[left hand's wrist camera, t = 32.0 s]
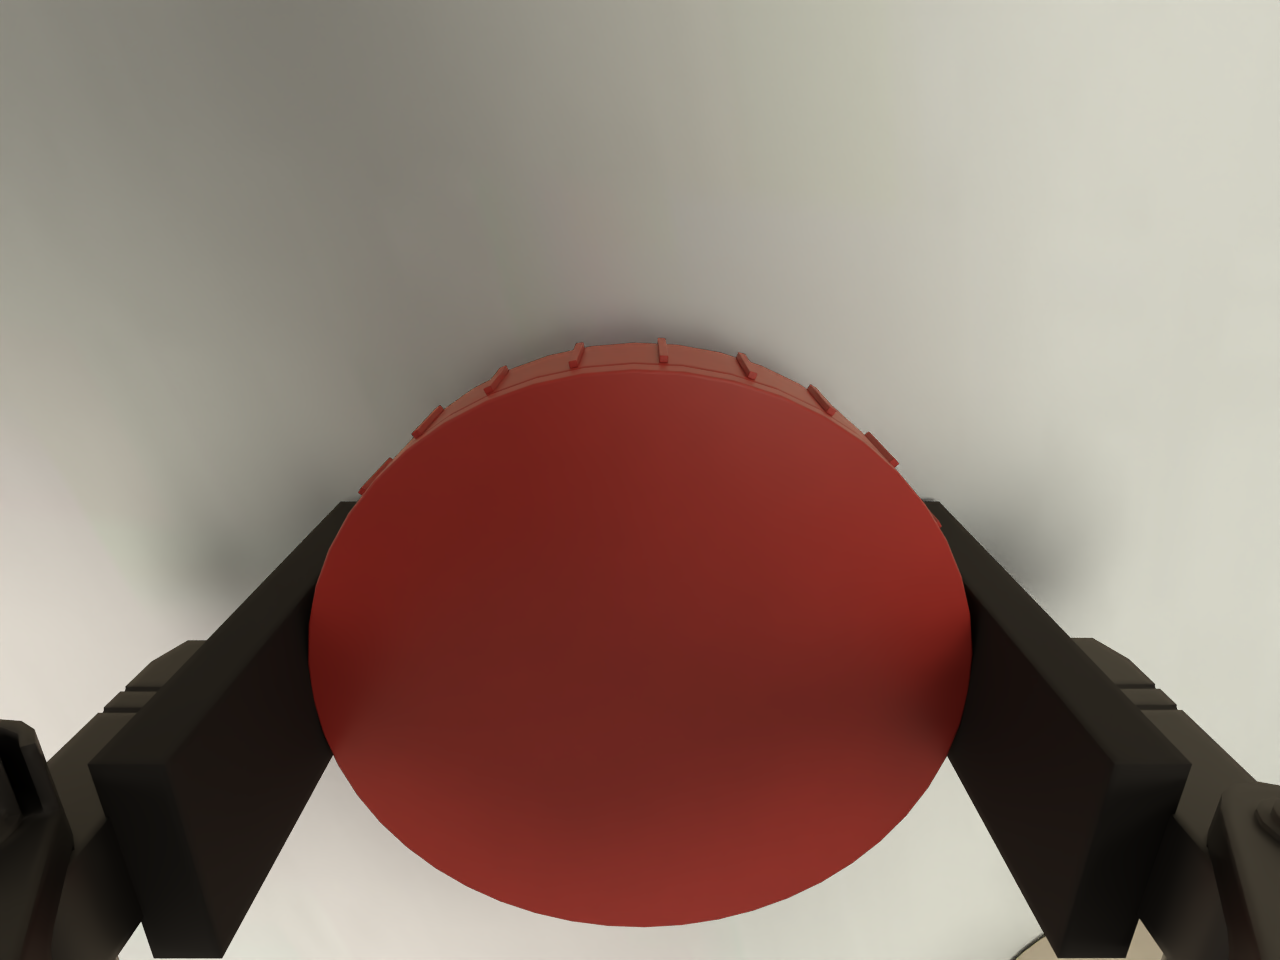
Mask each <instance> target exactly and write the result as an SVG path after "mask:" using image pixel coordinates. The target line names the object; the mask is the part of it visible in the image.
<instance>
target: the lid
mask: <svg viewBox="0 0 1280 960" xmlns="http://www.w3.org/2000/svg"><path fill="white" fill-rule="evenodd" d="M412 436H413V437H414V438H413V439H411V441H410V442H409V443H408V444H407V445H406V446H405V447H404V448H403V449H402V450H401V451H400V452H399V454H398V455H397V456H396V457H395V458H394V459H392V458H389V459H388V460H387V461H386V462H385V463H384V464H383V465H382V466H381V467H380V468H379V469H378V470H377V471H376V472H375V474H374V475H373V476H372V477H371V478H370V479H369V480H368V481H367V482H366V483H365V484H364V485H363V486H362V487H361V489H360V490H359V492H358V493H359V494H361V495H362V496H361V498H360V499H359V500H358V502H357V503H356V504H355V506H354V507H353V508H352V509H351V511H350V512H349V513H348V515H347V517H346V519H345V521H344V522H343V524H342V526H341V528H340V530H339V532H338V533H337V535H336V537H335V539H334V541H333V543H332V544H331V546H330V548H329V550H328V553H327V556H326V559H325V561H324V564H323V567H322V570H321V573H320V575H319V578H318V581H317V584H316V587H315V593H314V598H313V603H312V609H311V614H310V620H309V637H308V666H309V673H310V680H311V686H312V692H313V697H314V702H315V707H316V710H317V714H318V717H319V720H320V724H321V727H322V731H323V733H324V736H325V738H326V740H327V742H328V744H329V746H330V749H331V751H332V753H333V755H334V757H335V760H336V762H337V764H338V766H339V767H340V769H341V770H342V772H343V774H344V775H345V777H346V778H347V780H348V781H349V783H350V784H351V786H352V788H353V789H354V791H355V792H356V794H357V795H358V796H359V798H360V799H361V800H362V801H363V802H364V804H365V805H366V806H367V807H368V808H369V810H370V811H371V812H372V813H373V814H374V816H375V817H376V818H377V819H378V820H379V821H380V823H381V824H383V825H384V826H385V827H386V828H387V829H388V830H389V831H390V832H391V833H392V834H393V835H394V836H395V837H397V838H398V839H399V840H400V841H401V842H402V843H403V844H404V845H405V846H406V847H407V848H409V849H410V850H412V851H413V852H414V853H416V854H417V855H418V856H420V857H421V858H422V859H424V860H425V861H426V862H428V863H429V864H431V865H432V866H433V867H435V868H436V869H438V870H440V871H441V872H443V873H445V874H446V875H448V876H450V877H452V878H453V879H455V880H457V881H459V882H460V883H462V884H464V885H465V886H467V887H469V888H472V889H474V890H476V891H478V892H481V893H483V894H485V895H487V896H490V897H492V898H494V899H496V900H498V901H501V902H504V903H507V904H510V905H513V906H516V907H519V908H522V909H525V910H528V911H531V912H534V913H538V914H542V915H547V916H551V917H555V918H560V919H564V920H569V921H574V922H582V923H590V924H597V925H605V926H627V927H656V926H673V925H685V924H691V923H698V922H704V921H711V920H717V919H722V918H726V917H730V916H734V915H738V914H741V913H745V912H749V911H753V910H756V909H759V908H762V907H765V906H767V905H770V904H773V903H776V902H779V901H781V900H784V899H787V898H789V897H791V896H794V895H796V894H798V893H800V892H802V891H804V890H806V889H808V888H810V887H812V886H814V885H816V884H819V883H821V882H822V881H824V880H826V879H827V878H829V877H831V876H832V875H834V874H835V873H837V872H839V871H840V870H842V869H844V868H845V867H847V866H848V865H850V864H852V863H853V862H854V861H856V860H857V859H858V858H859V857H861V856H862V855H863V854H865V853H866V852H867V851H868V850H870V849H871V848H872V847H874V846H875V845H876V844H877V843H879V842H880V841H881V840H882V839H883V838H884V837H885V836H886V835H887V834H888V833H889V832H890V831H891V830H892V829H893V828H894V827H895V826H896V825H897V824H898V823H899V822H900V821H901V820H902V819H903V818H904V817H905V816H906V815H907V814H908V813H909V811H910V810H911V809H912V808H913V806H914V805H915V804H916V803H917V801H918V800H919V799H920V797H921V796H922V795H923V794H924V792H925V791H926V790H927V789H928V787H929V785H930V784H931V782H932V780H933V779H934V777H935V775H936V774H937V772H938V770H939V769H940V767H941V765H942V764H943V762H944V760H945V758H946V757H947V754H948V752H949V749H950V747H951V745H952V742H953V740H954V737H955V735H956V733H957V730H958V728H959V725H960V723H961V719H962V715H963V711H964V706H965V701H966V697H967V692H968V686H969V681H970V673H971V662H972V637H971V621H970V612H969V607H968V603H967V598H966V594H965V590H964V585H963V581H962V577H961V574H960V572H959V569H958V567H957V564H956V562H955V559H954V557H953V554H952V552H951V549H950V547H949V544H948V542H947V540H946V538H945V536H944V535H943V533H942V531H941V530H940V527H941V524H940V522H939V520H938V519H937V518H936V517H935V516H934V515H933V514H932V513H931V512H930V510H929V509H928V508H927V506H926V505H925V503H924V502H923V501H922V500H921V499H920V497H919V496H918V495H917V494H916V493H915V491H914V490H913V489H912V488H911V487H910V485H909V484H908V483H907V482H906V481H905V480H904V478H903V477H902V476H901V475H900V474H899V472H898V471H897V470H896V469H895V467H896V466H897V465H898V464H899V463H898V462H897V461H896V459H895V458H894V457H893V456H892V455H891V454H890V453H889V452H888V451H887V450H886V449H885V448H884V447H883V446H882V445H881V444H880V443H879V442H878V441H877V439H876V438H875V437H874V436H873V435H872V434H871V433H870V432H867V433H866V434H865V435H864V434H863V433H862V432H861V431H860V430H859V429H858V428H856V427H855V426H854V425H853V424H852V423H851V422H850V421H849V420H847V419H846V418H845V417H844V416H843V415H842V414H841V413H840V412H839V411H837V410H836V409H835V408H834V407H833V406H832V405H831V404H830V403H829V402H828V401H827V400H826V398H825V397H824V396H823V395H822V394H821V393H820V392H819V391H818V389H817V388H816V387H814V386H812V385H810V386H809V387H808V388H807V389H806V388H804V387H803V386H801V385H800V384H798V383H796V382H794V381H792V380H790V379H788V378H786V377H784V376H782V375H780V374H777V373H775V372H773V371H771V370H769V369H767V368H765V367H763V366H761V365H758V364H754V363H751V362H750V361H749V359H748V358H747V356H746V355H745V354H743V353H740V352H738V354H737V357H733V356H730V355H727V354H723V353H720V352H715V351H709V350H704V349H698V348H693V347H687V346H682V345H671V344H666V339H665V338H658V342H657V344H651V343H625V344H613V345H600V346H590V347H584V343H583V342H582V343H576V345H575V347H574V350H572V351H567V352H562V353H558V354H553V355H549V356H546V357H543V358H540V359H538V360H535V361H532V362H529V363H526V364H524V365H521V366H518V367H515V368H513V369H510V370H508V368H507V366H503V367H501V368H499V370H498V371H497V372H496V374H495V375H494V376H493V377H492V379H490V380H489V381H487V382H485V383H483V384H481V385H479V386H477V387H475V388H473V389H472V390H470V391H469V392H467V393H466V394H465V395H463V396H462V397H460V398H459V399H458V400H456V401H455V402H454V403H452V404H451V405H449V406H448V407H447V408H445V409H443V408H442V407H441V406H440V405H439V406H438V407H437V408H436V409H435V410H434V411H433V412H432V413H431V414H430V415H429V416H428V417H427V418H426V419H425V420H424V421H423V422H422V423H421V424H420V425H419V426H418V428H417V429H416V430H415V431H414V432H413V433H412Z"/></svg>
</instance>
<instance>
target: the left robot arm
mask: <svg viewBox="0 0 1280 960" xmlns="http://www.w3.org/2000/svg"><path fill="white" fill-rule="evenodd" d="M356 503H357V502H340V503H339V504H338V505H337V506H336V507H335V508H334V509H333V510H332V511H331V512H330V513H329V514H328V515H327V516H326V517H325V518H324V519H323V520H322V522H321V523H320V524H319V525H318V526H317V527H316V528H315V529H314V530H313V531H312V532H311V533H310V534H309V535H308V536H307V537H306V538H305V539H304V540H303V541H302V542H301V543H300V544H299V545H298V546H297V547H296V548H295V549H294V551H293V552H292V553H291V554H290V555H289V556H288V557H287V558H286V559H285V560H284V561H283V562H282V563H281V564H280V565H279V566H278V567H277V568H276V569H275V570H274V571H273V572H272V573H271V574H270V575H269V576H268V577H267V578H266V580H265V581H264V582H263V583H262V584H261V585H260V586H259V587H258V588H257V589H256V590H255V591H254V592H253V593H252V594H251V595H250V596H249V597H248V598H247V599H246V600H245V601H244V602H243V603H242V604H241V605H240V606H239V607H238V609H237V610H236V611H235V612H234V613H233V614H232V615H231V616H230V617H229V618H228V619H227V620H226V621H225V622H224V623H223V624H222V625H221V626H220V627H219V628H218V629H217V630H216V631H215V632H214V633H213V634H212V635H211V637H210V638H209V639H208V640H188V641H186V642H184V643H183V644H181V645H179V646H177V647H176V648H174V649H172V650H171V651H169V652H167V653H165V654H164V655H162V656H160V657H159V658H157V659H155V660H153V661H152V662H151V663H150V664H149V665H147V666H146V667H145V668H144V669H143V670H142V671H141V672H140V673H139V674H138V675H137V676H136V677H135V678H134V679H133V680H132V681H131V682H130V683H129V684H128V685H127V686H126V689H125V692H119V693H118V694H117V695H116V696H115V697H114V698H113V699H112V700H111V701H110V702H109V703H108V704H107V705H106V706H105V707H104V711H103V713H98V714H97V715H96V716H94V717H93V718H92V719H91V720H90V721H89V722H88V723H87V724H86V725H85V726H84V727H83V728H82V729H81V730H80V731H79V732H78V733H77V734H76V735H75V736H74V737H73V738H72V739H71V740H70V741H69V742H67V743H66V744H65V745H64V746H63V747H62V748H61V749H60V750H59V751H58V752H57V753H56V754H55V755H54V756H53V757H52V758H51V759H50V760H49V761H48V762H46V759H45V757H44V754H43V751H42V749H41V746H40V743H39V740H38V738H37V735H36V732H35V730H34V729H33V728H32V727H30V726H28V725H27V724H25V723H24V722H22V721H14V720H1V719H0V960H119V958H118V954H119V953H120V951H121V950H122V949H123V947H124V946H125V944H126V943H127V941H128V940H129V938H130V937H131V935H132V934H133V932H134V931H135V930H136V928H137V927H138V925H139V924H140V922H142V925H143V928H144V931H145V934H146V937H147V940H148V943H149V945H150V948H151V951H152V954H153V957H154V958H222V957H223V956H224V954H225V952H226V950H227V948H228V946H229V945H230V943H231V941H232V939H233V937H234V935H235V934H236V932H237V930H238V928H239V926H240V924H241V923H242V921H243V919H244V917H245V915H246V913H247V912H248V910H249V908H250V906H251V904H252V902H253V901H254V899H255V897H256V895H257V893H258V891H259V890H260V888H261V886H262V884H263V882H264V880H265V879H266V877H267V875H268V873H269V871H270V869H271V868H272V866H273V864H274V862H275V860H276V858H277V857H278V855H279V853H280V851H281V849H282V847H283V846H284V844H285V842H286V840H287V838H288V836H289V835H290V833H291V831H292V829H293V827H294V825H295V824H296V822H297V820H298V818H299V816H300V814H301V813H302V811H303V809H304V807H305V805H306V803H307V802H308V800H309V798H310V796H311V794H312V792H313V791H314V789H315V787H316V785H317V783H318V781H319V780H320V778H321V776H322V774H323V772H324V770H325V769H326V767H327V765H328V763H329V761H330V759H331V758H332V756H333V753H332V751H331V749H330V746H329V744H328V742H327V740H326V738H325V736H324V733H323V731H322V727H321V724H320V720H319V717H318V714H317V710H316V707H315V702H314V697H313V692H312V686H311V680H310V673H309V666H308V637H309V620H310V614H311V609H312V603H313V598H314V593H315V587H316V584H317V581H318V578H319V575H320V573H321V570H322V567H323V564H324V561H325V559H326V556H327V553H328V550H329V548H330V546H331V544H332V543H333V541H334V539H335V537H336V535H337V533H338V532H339V530H340V528H341V526H342V524H343V522H344V521H345V519H346V517H347V515H348V513H349V512H350V511H351V509H352V508H353V507H354V506H355V504H356ZM924 503H925V505H926V506H927V508H928V509H929V510H930V512H931V513H932V514H933V515H934V516H935V517H936V518H937V519H938V520H939V522H940V524H941V527H940V530H941V531H942V533H943V535H944V536H945V538H946V540H947V542H948V544H949V547H950V549H951V552H952V554H953V557H954V559H955V562H956V564H957V567H958V569H959V572H960V574H961V577H962V581H963V585H964V590H965V594H966V598H967V603H968V607H969V612H970V621H971V637H972V662H971V673H970V681H969V686H968V692H967V697H966V701H965V706H964V711H963V715H962V719H961V723H960V725H959V728H958V730H957V733H956V735H955V737H954V740H953V742H952V745H951V747H950V749H949V752H948V754H947V756H948V758H949V760H950V762H951V764H952V766H953V767H954V769H955V771H956V773H957V775H958V777H959V778H960V780H961V782H962V784H963V786H964V788H965V789H966V791H967V793H968V795H969V797H970V799H971V800H972V802H973V804H974V806H975V808H976V810H977V811H978V813H979V815H980V817H981V819H982V821H983V822H984V824H985V826H986V828H987V830H988V832H989V833H990V835H991V837H992V839H993V841H994V843H995V844H996V846H997V848H998V850H999V852H1000V854H1001V855H1002V857H1003V859H1004V861H1005V863H1006V865H1007V866H1008V868H1009V870H1010V872H1011V874H1012V876H1013V877H1014V879H1015V881H1016V883H1017V885H1018V887H1019V888H1020V890H1021V892H1022V894H1023V896H1024V898H1025V899H1026V901H1027V903H1028V905H1029V907H1030V909H1031V910H1032V912H1033V914H1034V916H1035V918H1036V920H1037V921H1038V923H1039V925H1040V927H1041V929H1042V931H1043V932H1044V934H1045V936H1046V938H1047V940H1048V942H1049V943H1050V945H1051V947H1052V949H1053V951H1054V953H1055V954H1056V956H1057V958H1126V956H1127V953H1128V950H1129V947H1130V944H1131V941H1132V938H1133V935H1134V933H1135V930H1136V927H1137V924H1138V921H1139V919H1140V920H1141V922H1142V923H1143V925H1144V926H1145V927H1146V929H1147V930H1148V932H1149V933H1150V935H1151V936H1152V938H1153V939H1154V941H1155V942H1156V943H1157V945H1158V946H1159V948H1160V949H1161V951H1162V952H1163V955H1162V958H1161V960H1280V786H1279V785H1273V784H1268V783H1262V782H1257V781H1256V780H1255V779H1254V778H1253V777H1252V776H1251V775H1250V774H1249V773H1248V772H1246V771H1245V770H1244V769H1243V768H1242V767H1241V766H1240V765H1239V764H1238V763H1237V762H1236V761H1235V760H1234V759H1233V758H1232V757H1231V756H1230V755H1229V754H1228V753H1227V752H1226V751H1224V750H1223V749H1222V748H1221V747H1220V746H1219V745H1218V744H1217V743H1216V742H1215V741H1214V740H1213V739H1212V738H1211V737H1210V736H1209V735H1208V734H1207V733H1206V732H1205V731H1204V730H1203V729H1201V728H1200V727H1199V726H1198V725H1197V724H1196V723H1195V722H1194V721H1193V720H1192V719H1191V718H1190V717H1189V716H1188V715H1187V714H1186V713H1185V712H1184V711H1183V710H1177V707H1176V706H1177V705H1176V704H1175V703H1174V702H1173V701H1172V700H1171V699H1170V698H1169V697H1168V696H1167V695H1166V694H1165V693H1164V692H1163V691H1162V690H1161V689H1156V688H1155V684H1154V683H1153V682H1152V681H1151V680H1150V679H1149V678H1148V677H1147V676H1146V675H1145V674H1144V673H1143V672H1142V671H1141V670H1140V669H1139V668H1138V667H1137V666H1136V665H1135V664H1133V663H1132V662H1131V661H1130V660H1129V659H1128V658H1126V657H1124V656H1123V655H1121V654H1119V653H1118V652H1116V651H1114V650H1112V649H1111V648H1109V647H1107V646H1105V645H1104V644H1102V643H1100V642H1099V641H1097V640H1095V639H1093V638H1070V637H1069V636H1068V635H1067V634H1066V633H1065V632H1064V631H1063V630H1062V629H1061V628H1060V627H1059V625H1058V624H1057V623H1056V622H1055V621H1054V620H1053V619H1052V618H1051V617H1050V616H1049V615H1048V614H1047V613H1046V612H1045V611H1044V610H1043V609H1042V608H1041V607H1040V606H1039V605H1038V604H1037V603H1036V602H1035V601H1034V600H1033V599H1032V597H1031V596H1030V595H1029V594H1028V593H1027V592H1026V591H1025V590H1024V589H1023V588H1022V587H1021V586H1020V585H1019V584H1018V583H1017V582H1016V581H1015V580H1014V579H1013V578H1012V577H1011V576H1010V575H1009V574H1008V573H1007V572H1006V571H1005V570H1004V568H1003V567H1002V566H1001V565H1000V564H999V563H998V562H997V561H996V560H995V559H994V558H993V557H992V556H991V555H990V554H989V553H988V552H987V551H986V550H985V549H984V548H983V547H982V546H981V545H980V544H979V543H978V542H977V540H976V539H975V538H974V537H973V536H972V535H971V534H970V533H969V532H968V531H967V530H966V529H965V528H964V527H963V526H962V525H961V524H960V523H959V522H958V521H957V520H956V519H955V518H954V517H953V516H952V515H951V514H950V513H949V511H948V510H947V509H946V508H945V507H944V506H943V505H942V504H941V503H940V502H924Z"/></svg>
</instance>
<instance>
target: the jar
mask: <svg viewBox="0 0 1280 960" xmlns="http://www.w3.org/2000/svg"><path fill="white" fill-rule="evenodd" d="M1162 955H1163V952H1162V951H1161V949H1160V948H1159V946H1158V945H1157V943H1156V942H1155V941H1154V939H1153V938H1152V936H1151V935H1150V933H1149V932H1148V930H1147V929H1146V927H1145V926H1144V925H1143V923H1142V922H1141V920H1140V919H1139V921H1138V924H1137V927H1136V930H1135V933H1134V935H1133V938H1132V941H1131V944H1130V947H1129V950H1128V953H1127V956H1126V958H1057V956H1056V954H1055V953H1054V951H1053V949H1052V947H1051V945H1050V943H1049V942H1048V940H1047V938H1046V936H1045V937H1043V938H1042V939H1040V940H1039V941H1038V942H1036V943H1035V944H1034V945H1032V946H1031V947H1030V948H1028V949H1027V950H1026V951H1024V952H1023V953H1022V954H1021V955H1020V956H1019V957H1018V958H1017V959H1016V960H1161V958H1162Z"/></svg>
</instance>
